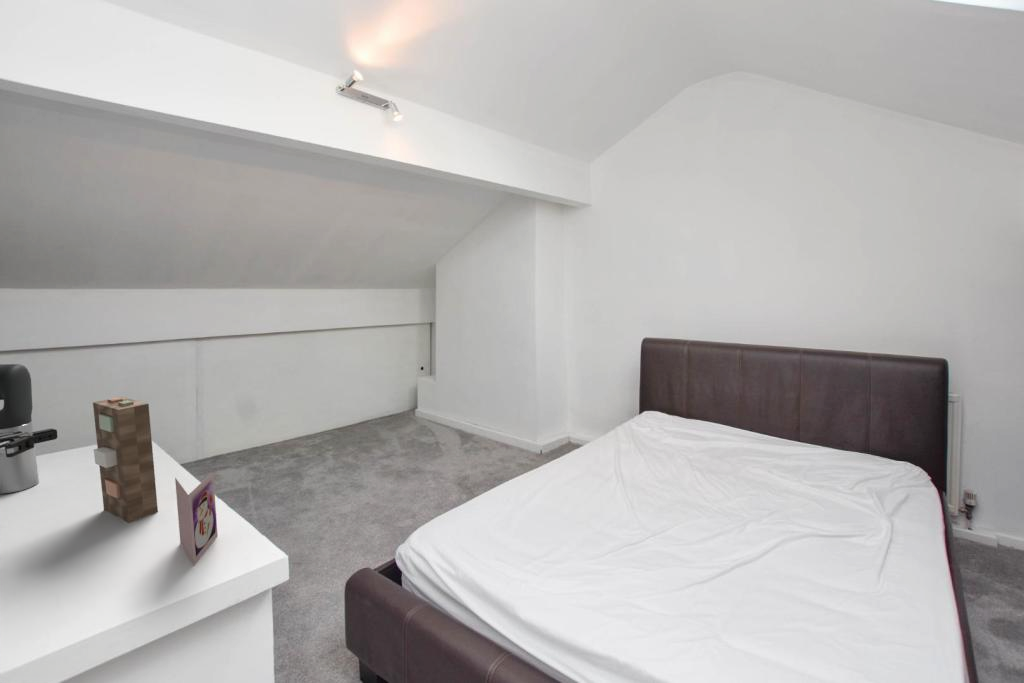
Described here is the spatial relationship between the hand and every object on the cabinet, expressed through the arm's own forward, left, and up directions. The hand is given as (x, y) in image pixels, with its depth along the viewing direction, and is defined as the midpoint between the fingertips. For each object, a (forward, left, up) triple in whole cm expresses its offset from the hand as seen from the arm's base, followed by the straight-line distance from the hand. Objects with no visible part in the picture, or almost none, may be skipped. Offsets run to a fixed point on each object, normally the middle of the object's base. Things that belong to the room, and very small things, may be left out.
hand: (55, 433), depth 105 cm
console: (-4, +11, -23) cm, 26 cm away
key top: (-4, +10, -2) cm, 11 cm away
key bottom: (-4, +10, -18) cm, 21 cm away
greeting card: (+25, +19, -23) cm, 40 cm away
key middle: (-3, +8, -10) cm, 13 cm away
